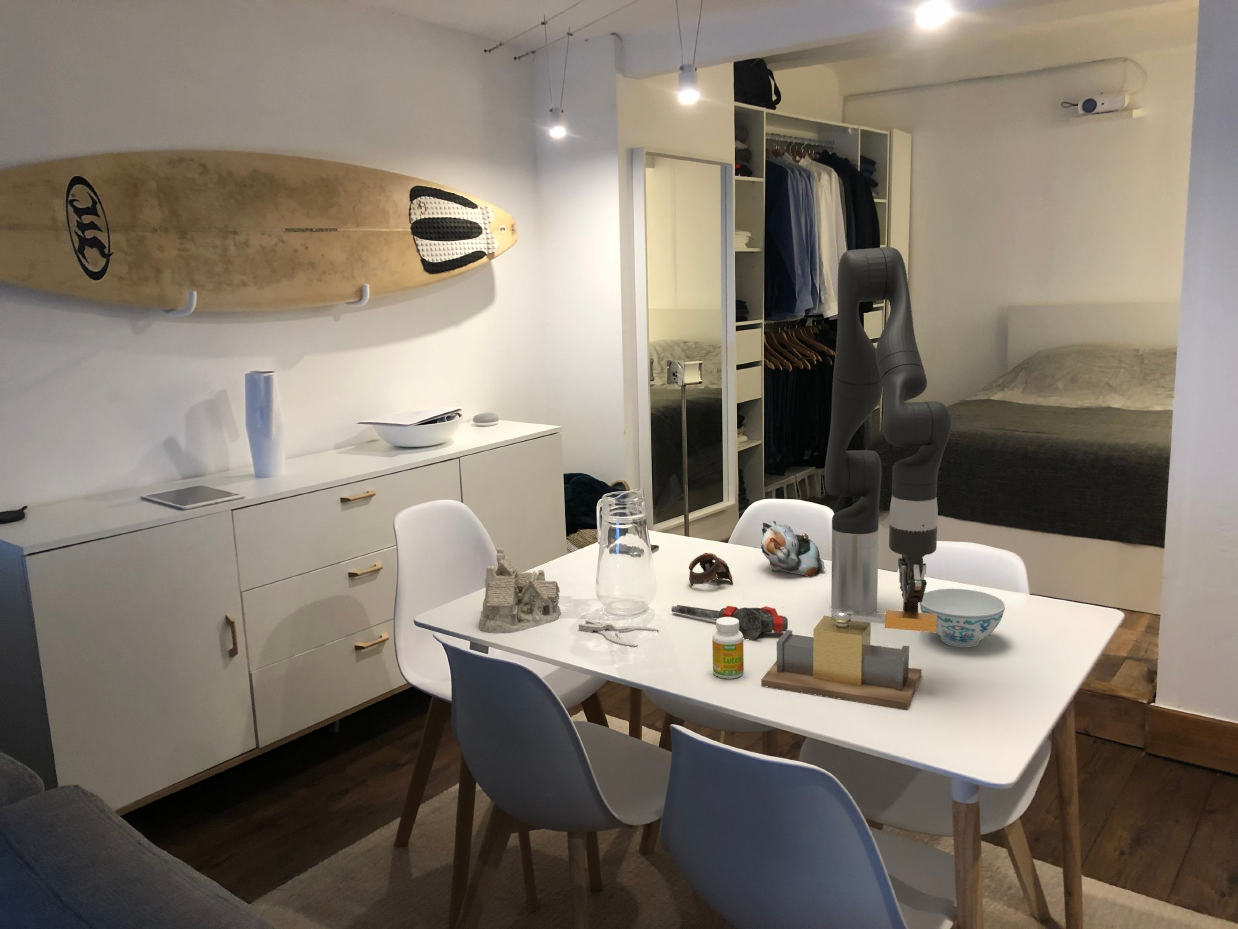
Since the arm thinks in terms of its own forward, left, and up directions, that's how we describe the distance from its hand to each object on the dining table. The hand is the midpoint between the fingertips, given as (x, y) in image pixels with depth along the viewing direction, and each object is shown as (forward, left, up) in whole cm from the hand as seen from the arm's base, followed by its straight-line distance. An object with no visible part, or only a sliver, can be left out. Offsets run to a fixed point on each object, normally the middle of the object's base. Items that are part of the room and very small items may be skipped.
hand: (910, 621), depth 159 cm
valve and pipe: (+5, -10, -10) cm, 15 cm away
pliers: (-1, -57, -11) cm, 58 cm away
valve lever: (+4, -4, 0) cm, 6 cm away
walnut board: (+5, -10, -10) cm, 15 cm away
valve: (-16, -37, -11) cm, 41 cm away
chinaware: (-21, +6, -11) cm, 24 cm away
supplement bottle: (+9, -29, -11) cm, 32 cm away
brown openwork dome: (-37, -50, -11) cm, 63 cm away
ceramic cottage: (-1, -79, -11) cm, 79 cm away
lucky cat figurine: (-52, -35, -11) cm, 64 cm away
